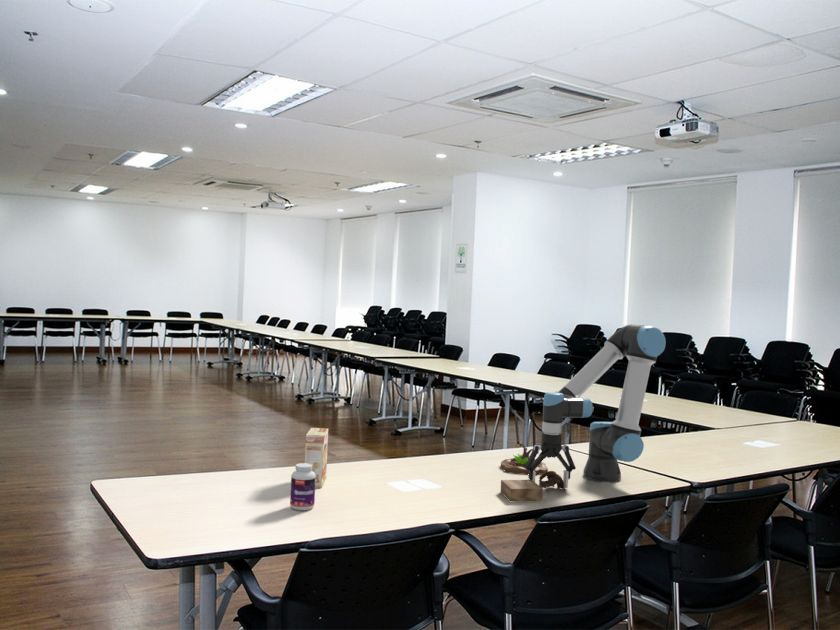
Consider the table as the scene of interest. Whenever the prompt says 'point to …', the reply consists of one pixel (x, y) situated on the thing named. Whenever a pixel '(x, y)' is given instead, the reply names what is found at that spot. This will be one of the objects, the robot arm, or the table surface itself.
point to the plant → (522, 463)
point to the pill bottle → (302, 487)
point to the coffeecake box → (317, 453)
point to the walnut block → (521, 490)
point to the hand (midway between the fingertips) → (548, 487)
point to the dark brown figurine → (551, 480)
